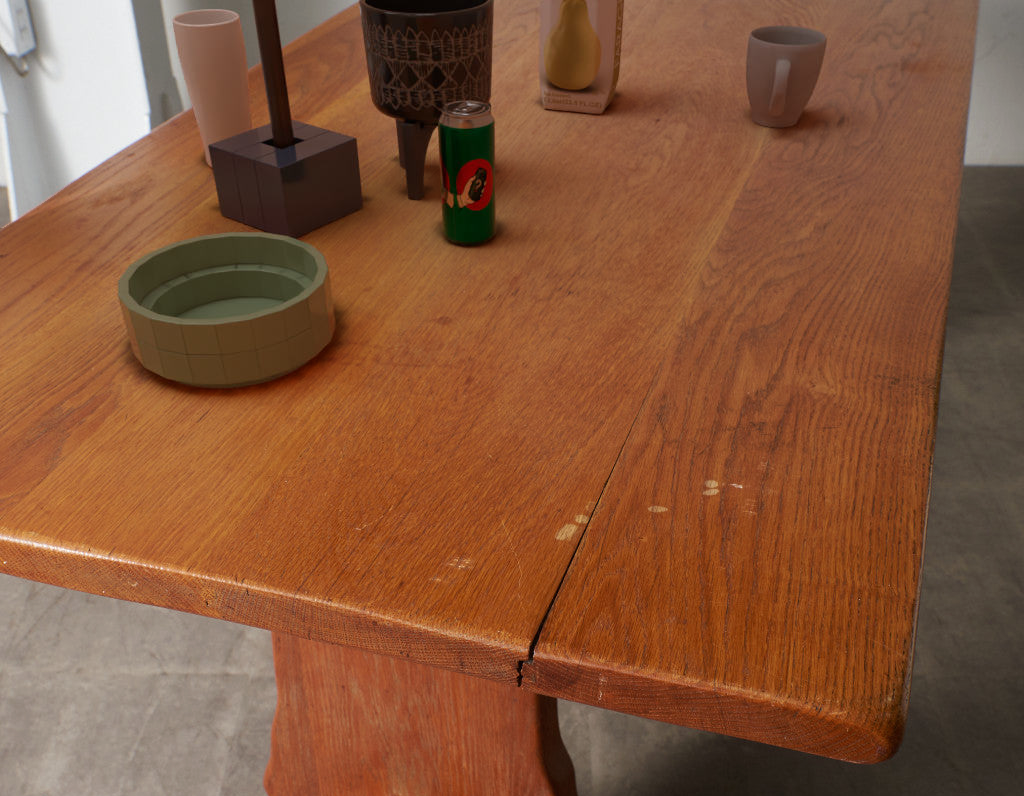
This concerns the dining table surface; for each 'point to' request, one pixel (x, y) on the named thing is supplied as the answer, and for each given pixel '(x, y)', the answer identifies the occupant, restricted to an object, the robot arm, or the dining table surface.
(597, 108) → the juice carton
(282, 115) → the dark brown square rod
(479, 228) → the soda can
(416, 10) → the planter
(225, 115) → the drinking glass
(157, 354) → the bowl
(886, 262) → the dining table surface
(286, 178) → the holder
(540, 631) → the dining table surface
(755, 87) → the mug
